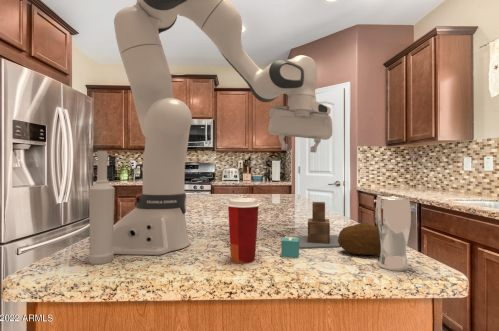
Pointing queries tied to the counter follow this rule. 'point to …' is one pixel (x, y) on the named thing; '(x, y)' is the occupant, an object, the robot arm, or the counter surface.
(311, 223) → the walnut cover
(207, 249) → the counter surface
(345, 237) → the potato
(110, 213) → the bottle
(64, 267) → the counter surface
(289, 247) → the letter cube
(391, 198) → the beer glass
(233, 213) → the paper cup
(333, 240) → the grey mat
